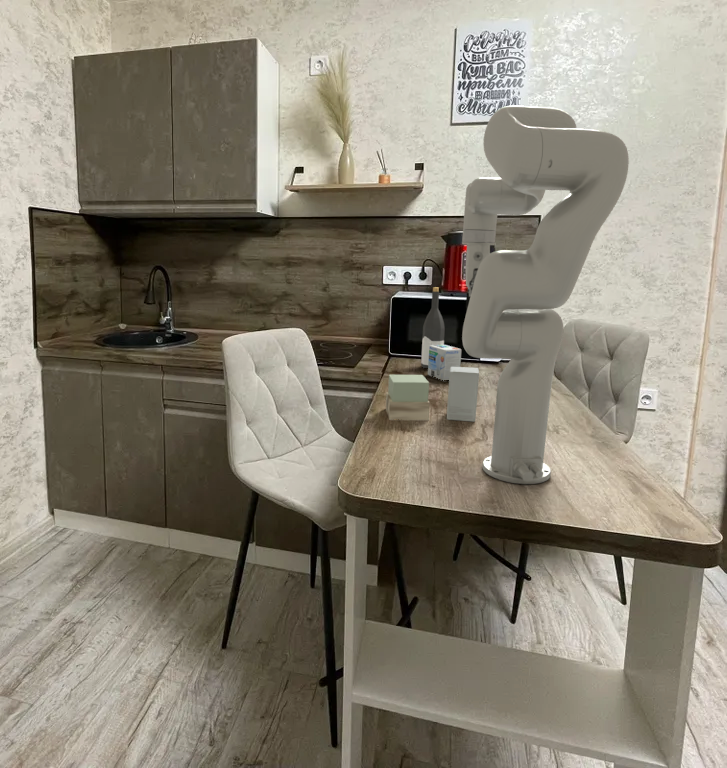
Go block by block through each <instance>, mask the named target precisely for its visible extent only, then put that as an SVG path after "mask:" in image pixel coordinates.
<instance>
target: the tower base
mask: <svg viewBox="0 0 727 768" xmlns="http://www.w3.org/2000/svg"><path fill="white" fill-rule="evenodd" d="M385 394H386V395H385V397H386V398H385V411H386V415H387V418H388V420H389V421H395V420H394V419H397V420H396V421H429V419H430V405H431V404H430V400H428V402H392V400H391V398H390V395H389V393H388V391H386V392H385ZM398 419H399V420H398ZM401 419H402V420H401Z"/></svg>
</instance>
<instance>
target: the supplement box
mask: <svg viewBox="0 0 727 768" xmlns="http://www.w3.org/2000/svg"><path fill="white" fill-rule="evenodd" d="M479 379H480V371H479V368H478V367H467V366H465V367H464V366H460V367H451V368H450V377H449V381H448V391H447V393H448V394H447V406H446V420H448V421H449V420H450V421H461V422H462V421H463V422H473V423H474V422H476V418H477V406H478V405H477V403H478V394H479V393H478V391H479V382H480V381H479Z"/></svg>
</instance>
